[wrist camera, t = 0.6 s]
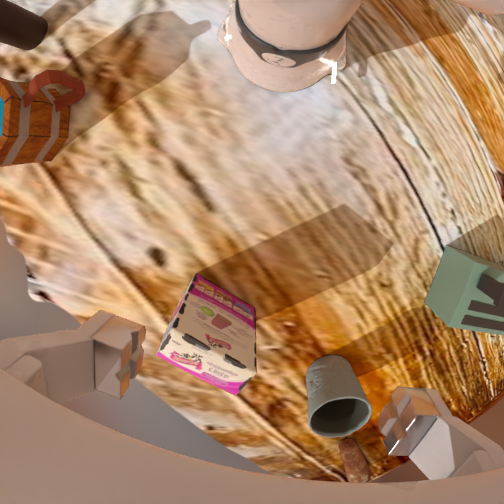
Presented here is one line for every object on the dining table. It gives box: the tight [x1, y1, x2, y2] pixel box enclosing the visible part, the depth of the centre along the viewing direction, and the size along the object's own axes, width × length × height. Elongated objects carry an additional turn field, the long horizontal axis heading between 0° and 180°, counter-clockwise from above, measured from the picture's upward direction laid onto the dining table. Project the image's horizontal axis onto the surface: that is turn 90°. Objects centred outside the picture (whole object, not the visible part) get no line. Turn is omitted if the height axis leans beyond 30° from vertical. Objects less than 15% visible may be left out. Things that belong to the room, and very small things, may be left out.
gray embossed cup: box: [306, 355, 372, 437], centre depth 48 cm, size 10×10×12 cm
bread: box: [339, 439, 371, 483], centre depth 59 cm, size 6×19×6 cm, turn 21°
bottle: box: [0, 0, 47, 50], centre depth 25 cm, size 7×7×20 cm
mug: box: [0, 70, 85, 167], centre depth 33 cm, size 20×14×15 cm
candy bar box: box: [156, 273, 257, 396], centre depth 41 cm, size 11×5×16 cm, turn 57°
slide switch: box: [476, 273, 504, 308], centre depth 35 cm, size 3×2×6 cm
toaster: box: [424, 245, 504, 335], centre depth 44 cm, size 11×18×9 cm, turn 76°
